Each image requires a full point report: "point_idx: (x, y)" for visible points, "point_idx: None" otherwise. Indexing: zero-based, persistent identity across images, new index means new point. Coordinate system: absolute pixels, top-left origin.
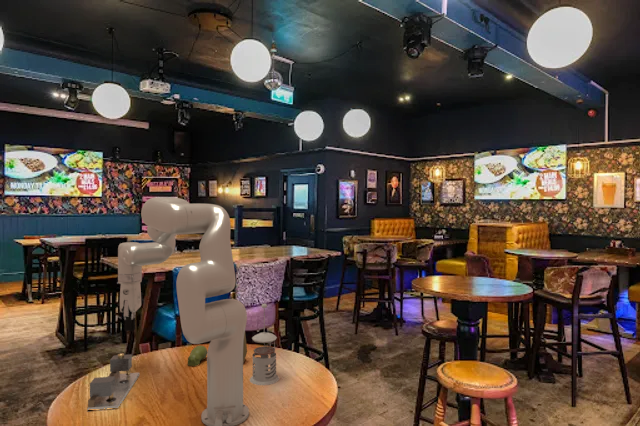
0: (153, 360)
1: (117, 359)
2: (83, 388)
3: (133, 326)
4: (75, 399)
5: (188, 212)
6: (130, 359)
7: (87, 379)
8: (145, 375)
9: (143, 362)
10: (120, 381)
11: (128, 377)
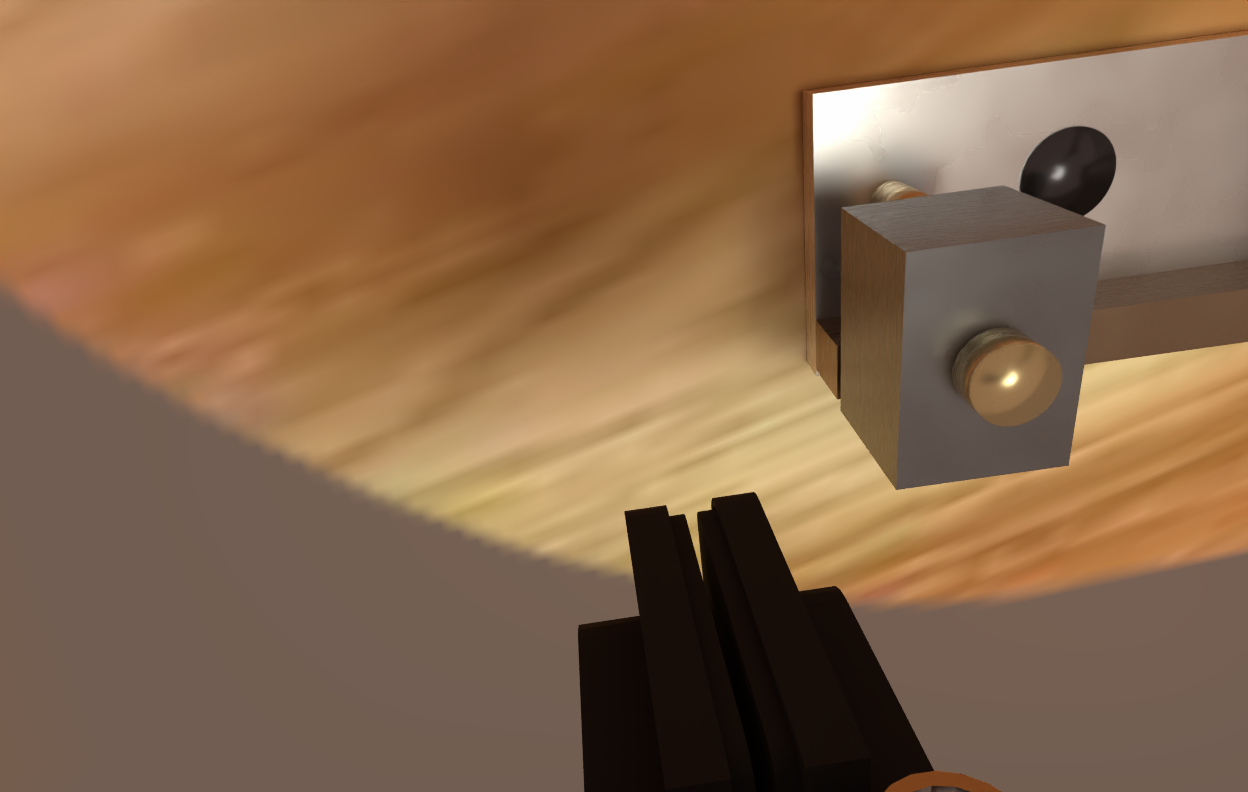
0: (262, 95)
1: (1078, 376)
2: (1021, 506)
3: (787, 571)
4: (1242, 462)
5: None
6: (956, 226)
7: (818, 565)
8: (812, 4)
9: (353, 210)
10: None
11: (953, 171)
